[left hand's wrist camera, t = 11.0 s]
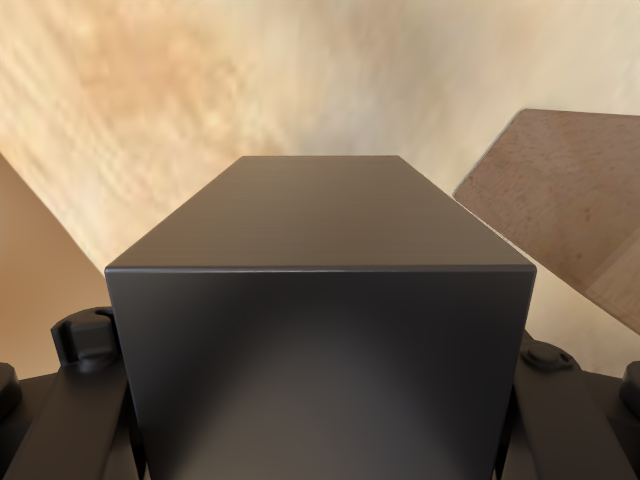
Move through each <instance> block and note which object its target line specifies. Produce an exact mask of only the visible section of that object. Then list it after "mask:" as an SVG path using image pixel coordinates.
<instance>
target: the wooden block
mask: <svg viewBox="0 0 640 480" xmlns="http://www.w3.org/2000/svg"><path fill="white" fill-rule="evenodd" d="M454 198H455V199H456V201H458V202H459V203H460V204H462V205H463V206H464V207H466V208H467V209H468V210H470V211H471V212H472V213H474V214H475V215H476V216H478V217H479V218H480V219H482V220H483V221H484V222H486V223H487V224H488V225H490V226H491V227H492V228H494V229H495V230H496V231H498V232H499V233H500V234H502V235H503V236H504V237H506V238H507V239H508V240H510V241H511V242H512V243H514V244H515V245H516V246H518V247H519V248H520V249H522V250H523V251H524V252H526V253H527V254H528V255H530V256H531V257H532V258H534V259H535V260H536V261H538V262H539V263H540V264H542V265H543V266H544V267H546V268H547V269H548V270H550V271H551V272H552V273H554V274H555V275H556V276H558V277H559V278H560V279H562V280H563V281H564V282H566V283H567V284H568V285H570V286H571V287H572V288H574V289H575V290H576V291H578V292H579V293H580V294H582V295H583V296H584V297H586V298H587V299H589V300H590V301H591V302H593V303H594V304H596V305H597V306H599V307H600V308H601V309H603V310H604V311H606V312H607V313H608V314H610V315H611V316H613V317H614V318H616V319H617V320H618V321H620V322H621V323H623V324H624V325H625V326H627V327H628V328H630V329H631V330H633V331H634V332H635V333H637V334H638V335H640V116H634V115H618V114H602V113H586V112H570V111H554V110H537V109H524V110H523V111H521V112H520V114H519V115H518V116H517V117H516V119H515V120H514V121H513V122H512V124H511V125H510V126H509V127H508V128H507V130H506V131H505V132H504V133H503V135H502V136H501V137H500V138H499V140H498V141H497V142H496V143H495V145H494V146H493V147H492V148H491V150H490V151H489V152H488V153H487V155H486V156H485V157H484V158H483V160H482V161H481V162H480V163H479V164H478V166H477V167H476V168H475V169H474V171H473V172H472V173H471V174H470V176H469V177H468V178H467V179H466V181H465V182H464V183H463V184H462V186H461V187H460V188H459V189H458V191H457V192H456V193H455V195H454Z"/></svg>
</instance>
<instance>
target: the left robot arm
mask: <svg viewBox="0 0 640 480" xmlns="http://www.w3.org/2000/svg"><path fill="white" fill-rule="evenodd" d="M51 333H52V337H53V340H54V343H55V347H56V350H57V354H58V357H59V361H60V364H61V366H60V368H59V370H58V372H57V373H53V374H48V375H43V376H38V377H34V378H28V379H23V380H18V378H17V375H16V372H15V370H14V368H13V367H12V366H11V365H9V364H8V363H1V362H0V480H150V475H149V470H148V466H147V461H146V457H145V452H144V448H143V444H142V439H141V435H140V430H139V426H138V421H137V417H136V412H135V408H134V403H133V399H132V394H131V390H130V385H129V381H128V376H127V372H126V367H125V363H124V358H123V354H122V349H121V345H120V340H119V336H118V331H117V327H116V323H115V318H114V314H113V309H112V307H111V306H110V307H95V308H91V309H86V310H82V311H79V312H77V313H74V314H71V315H69V316H67V317H66V318H64V319H62V320H61V321H59V322H57V323H56V324H55V325H54V326H53V327H52V328H51ZM492 480H640V361H634V362H632V363H631V364H629V365H628V366H627V368H626V371H625V373H624V376H623V379H621V378H616V377H611V376H606V375H601V374H596V373H591V372H587V371H583V370H581V368H580V366H579V364H578V363H577V362H576V361H575V359H574V358H573V357H572V356H571V355H569V354H568V353H566V352H565V351H563V350H562V349H560V348H558V347H555V346H553V345H551V344H549V343H545V342H541V341H537V340H534V339H533V338H532V337H531V336H530V335H529V333H528V332H527V331H526V330H525V329H524V334H523V338H522V343H521V348H520V352H519V357H518V361H517V366H516V371H515V375H514V380H513V385H512V389H511V394H510V398H509V403H508V408H507V412H506V417H505V422H504V426H503V431H502V435H501V440H500V445H499V449H498V454H497V459H496V463H495V468H494V472H493V477H492Z"/></svg>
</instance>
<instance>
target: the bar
mask: <svg viewBox="0 0 640 480" xmlns="http://www.w3.org/2000/svg"><path fill="white" fill-rule="evenodd" d="M104 273H105V278H106V282H107V286H108V291H109V296H110V300H111V305H112V309H113V314H114V318H115V323H116V327H117V331H118V336H119V340H120V345H121V349H122V354H123V358H124V363H125V367H126V372H127V376H128V381H129V385H130V390H131V394H132V399H133V403H134V408H135V412H136V417H137V421H138V426H139V430H140V435H141V439H142V444H143V448H144V452H145V457H146V461H147V466H148V470H149V475H150V479H151V480H492V477H493V472H494V468H495V463H496V459H497V454H498V449H499V445H500V440H501V435H502V431H503V426H504V422H505V417H506V412H507V408H508V403H509V398H510V394H511V389H512V385H513V380H514V375H515V371H516V366H517V361H518V357H519V352H520V348H521V343H522V338H523V334H524V329H525V324H526V320H527V315H528V311H529V306H530V301H531V297H532V292H533V287H534V283H535V278H536V274H537V268H536V266H535V265H534V264H533V263H532V262H530V261H529V260H528V259H527V258H525V257H524V256H523V255H522V254H520V253H519V252H518V251H517V250H515V249H514V248H513V247H512V246H510V245H509V244H508V243H507V242H505V241H504V240H503V239H502V238H500V237H499V236H498V235H497V234H495V233H494V232H493V231H492V230H491V229H489V228H488V227H487V226H486V225H484V224H483V223H482V222H481V221H479V220H478V219H477V218H476V217H474V216H473V215H472V214H471V213H469V212H468V211H467V210H466V209H464V208H463V207H462V206H461V205H459V204H458V203H457V202H456V201H454V200H453V199H452V198H451V197H449V196H448V195H447V194H446V193H444V192H443V191H442V190H441V189H439V188H438V187H437V186H436V185H434V184H433V183H432V182H431V181H429V180H428V179H427V178H426V177H424V176H423V175H422V174H421V173H420V172H418V171H417V170H416V169H415V168H413V167H412V166H411V165H410V164H408V163H407V162H406V161H405V160H403V159H402V158H401V157H400V156H242V157H241V158H239V159H238V160H237V161H236V162H235V163H233V164H232V165H231V166H230V167H228V168H227V169H226V170H225V171H223V172H222V173H221V174H220V175H218V176H217V177H216V178H215V179H214V180H212V181H211V182H210V183H209V184H207V185H206V186H205V187H204V188H202V189H201V190H200V191H199V192H198V193H196V194H195V195H194V196H193V197H191V198H190V199H189V200H188V201H186V202H185V203H184V204H183V205H181V206H180V207H179V208H178V209H177V210H175V211H174V212H173V213H172V214H170V215H169V216H168V217H167V218H165V219H164V220H163V221H162V222H161V223H159V224H158V225H157V226H156V227H154V228H153V229H152V230H151V231H149V232H148V233H147V234H146V235H145V236H143V237H142V238H141V239H140V240H138V241H137V242H136V243H135V244H133V245H132V246H131V247H130V248H128V249H127V250H126V251H125V252H124V253H122V254H121V255H120V256H119V257H117V258H116V259H115V260H114V261H112V262H111V263H110V264H109V265H108V266H106V267H105V271H104Z"/></svg>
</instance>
